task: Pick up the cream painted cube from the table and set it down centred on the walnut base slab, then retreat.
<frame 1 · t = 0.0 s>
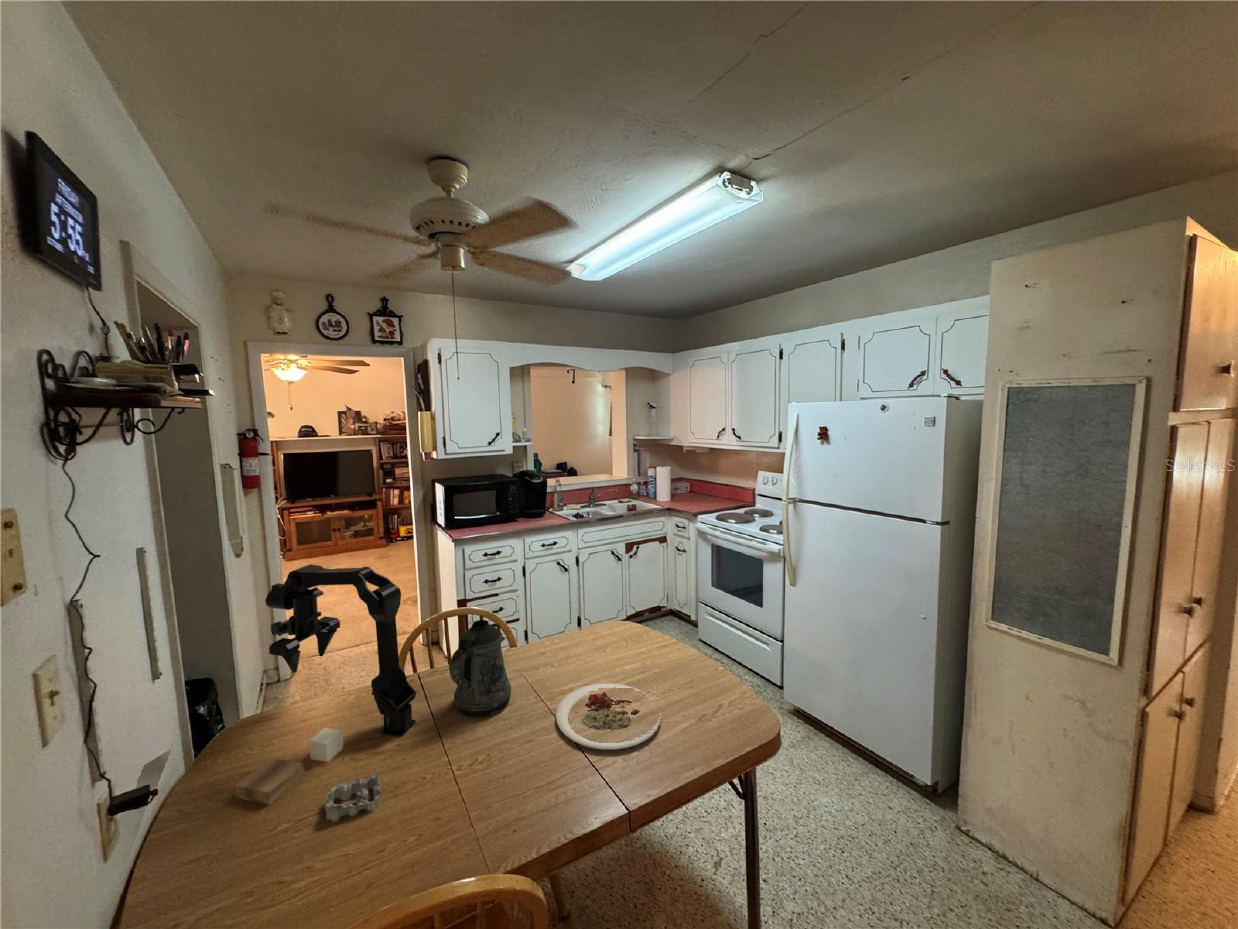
hand: (308, 664, 138), 15 cm above the table, fingers open, 9 cm apart
beer stein: (481, 705, 145), on the table
cream block: (326, 754, 123), on the table
plated food: (608, 719, 140), on the table
walnut base: (271, 786, 112), on the table
egg carton: (354, 805, 108), on the table
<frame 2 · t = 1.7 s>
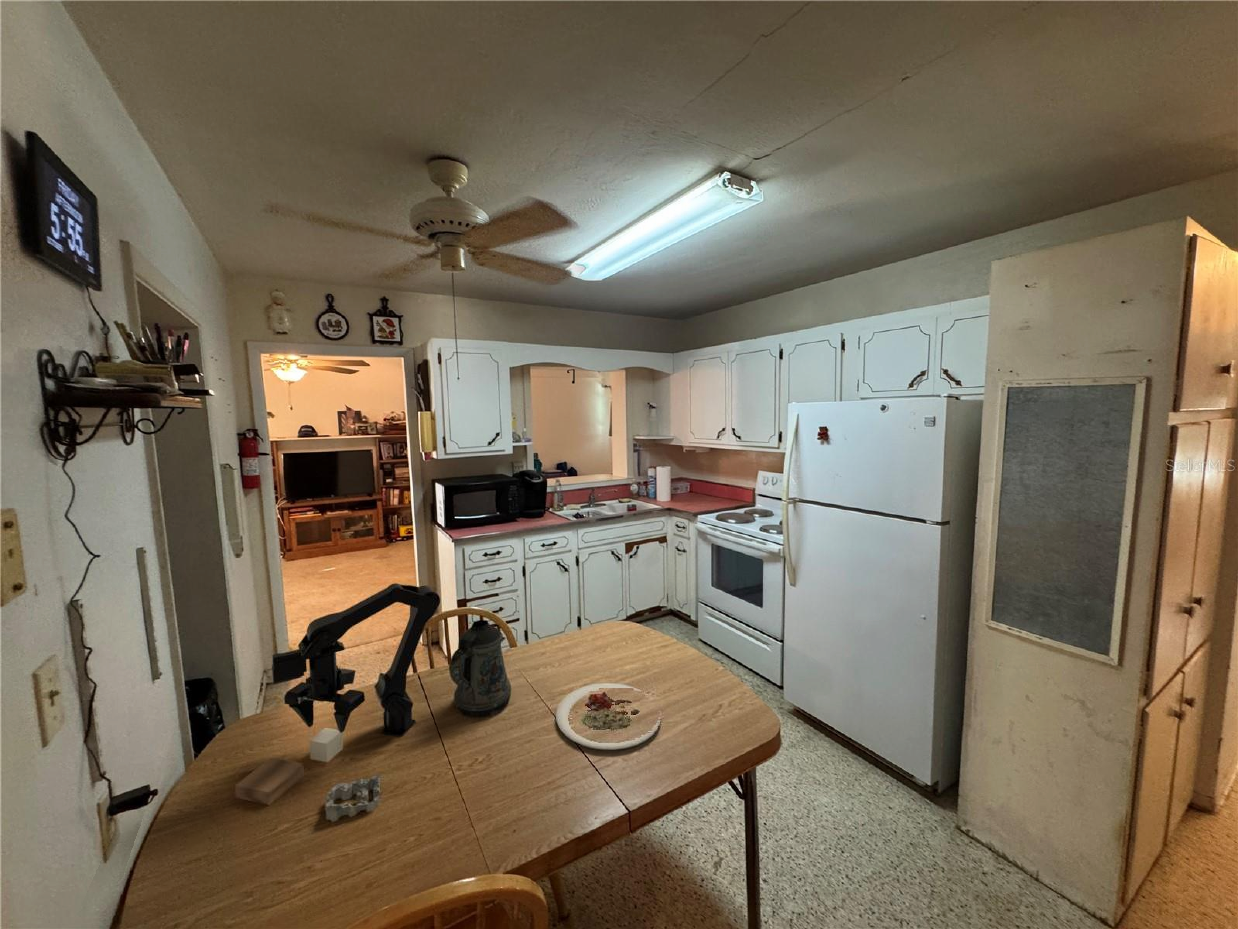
hand: (326, 729, 122), 7 cm above the table, fingers open, 9 cm apart
nothing on the table moved.
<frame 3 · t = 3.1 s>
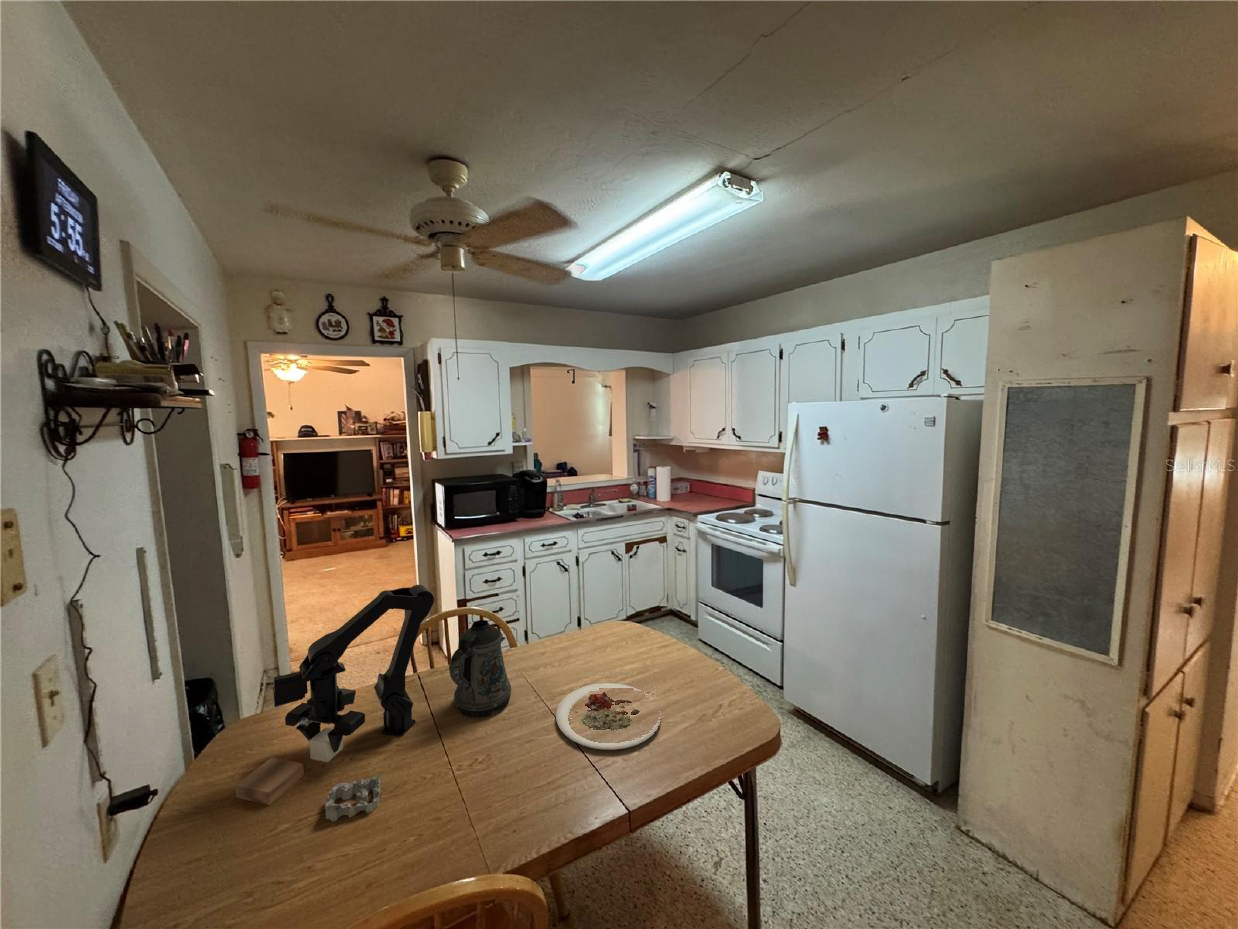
hand: (326, 749, 123), 1 cm above the table, fingers closed on cream block, 5 cm apart
cream block: (326, 753, 123), on the table, touching gripper
everything else where it was.
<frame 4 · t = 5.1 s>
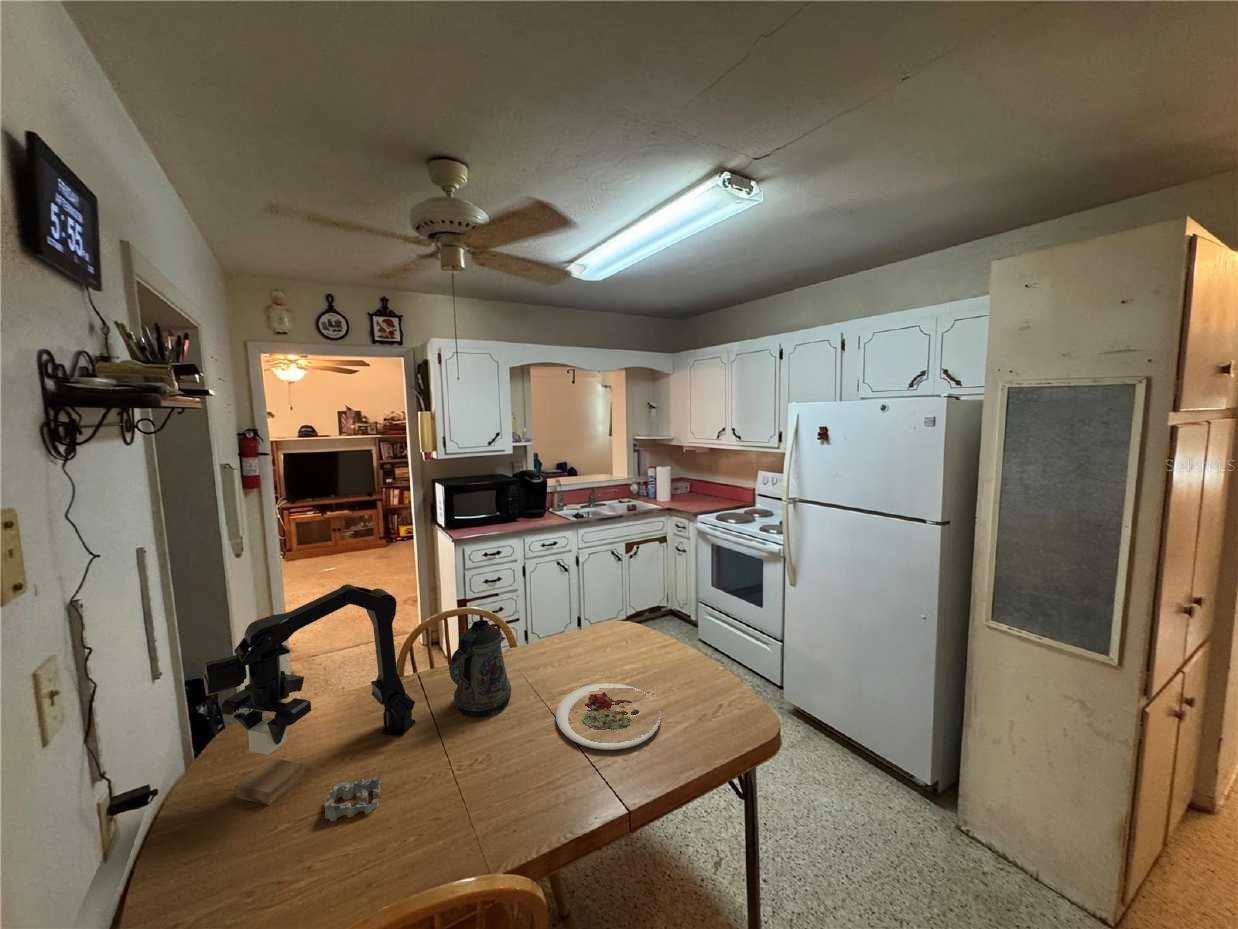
hand: (268, 741, 111), 11 cm above the table, fingers closed on cream block, 5 cm apart
cream block: (268, 745, 111), point 10 cm above the table, touching gripper
everything else where it was.
when the fingers open (4 cm above the table, at t = 7.0 s): cream block stays where it is, resting on walnut base.
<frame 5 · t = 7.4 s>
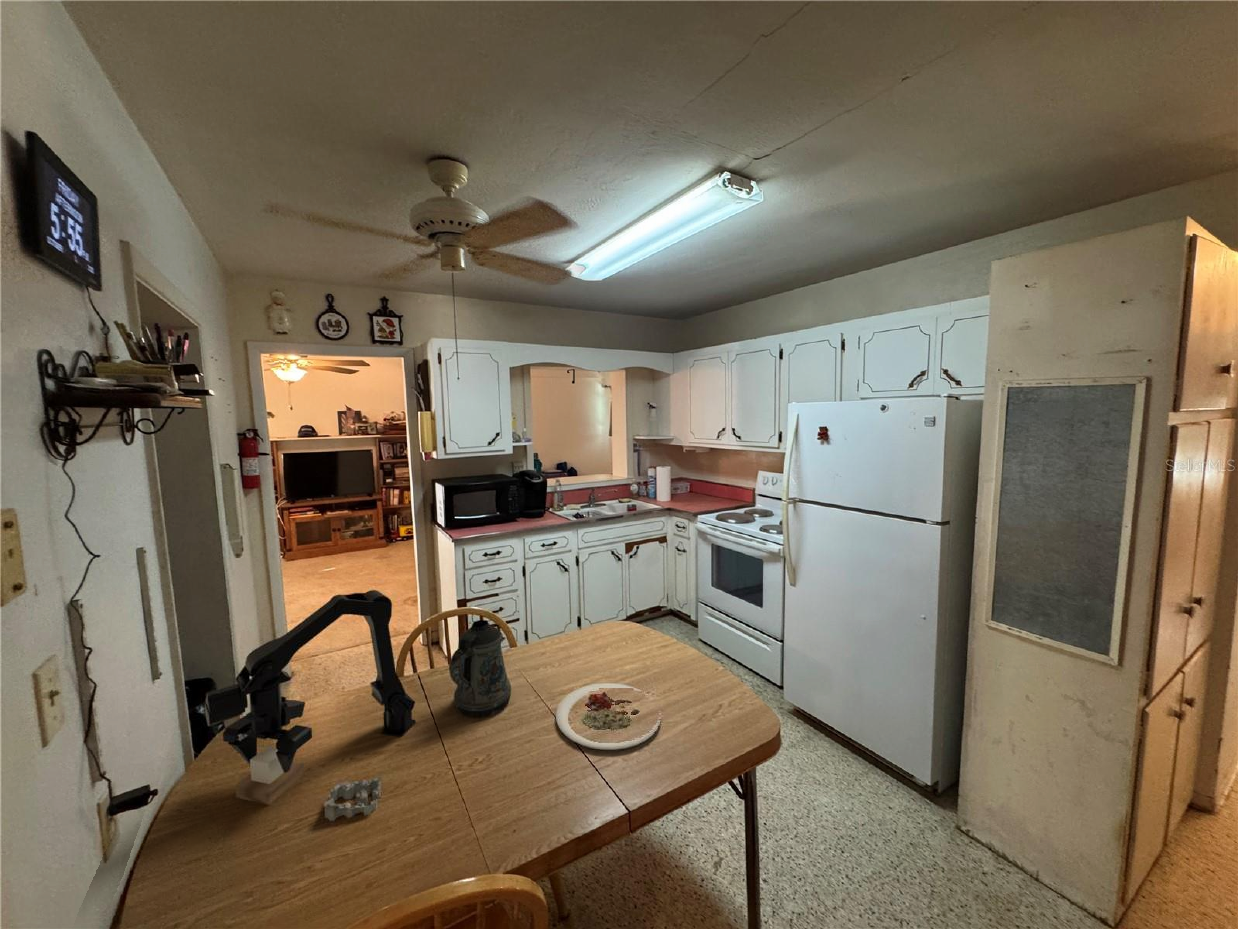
hand: (270, 768, 112), 4 cm above the table, fingers open, 9 cm apart
cream block: (270, 774, 112), point 3 cm above the table, touching walnut base
everything else where it was.
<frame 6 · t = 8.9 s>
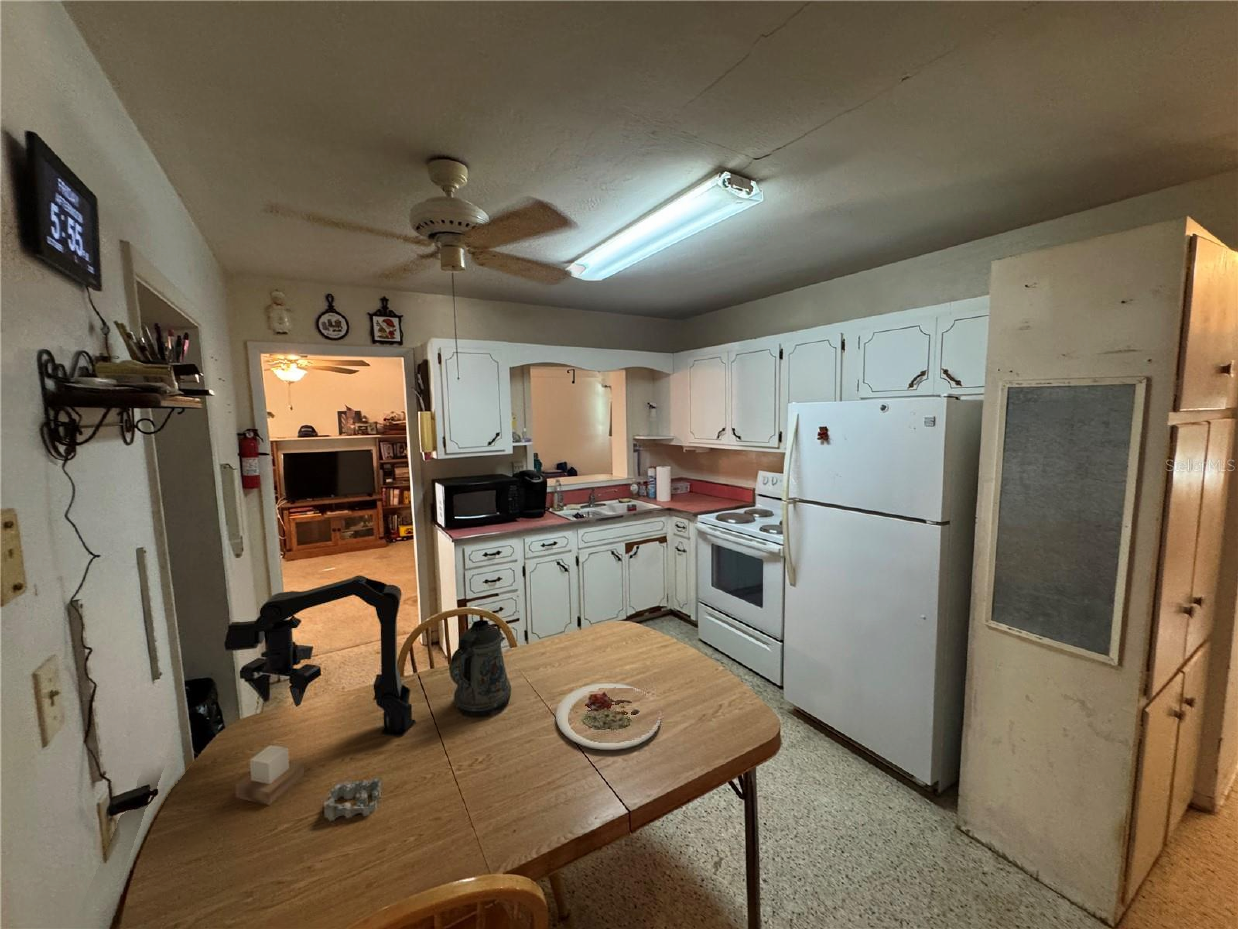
hand: (282, 703, 124), 12 cm above the table, fingers open, 9 cm apart
nothing on the table moved.
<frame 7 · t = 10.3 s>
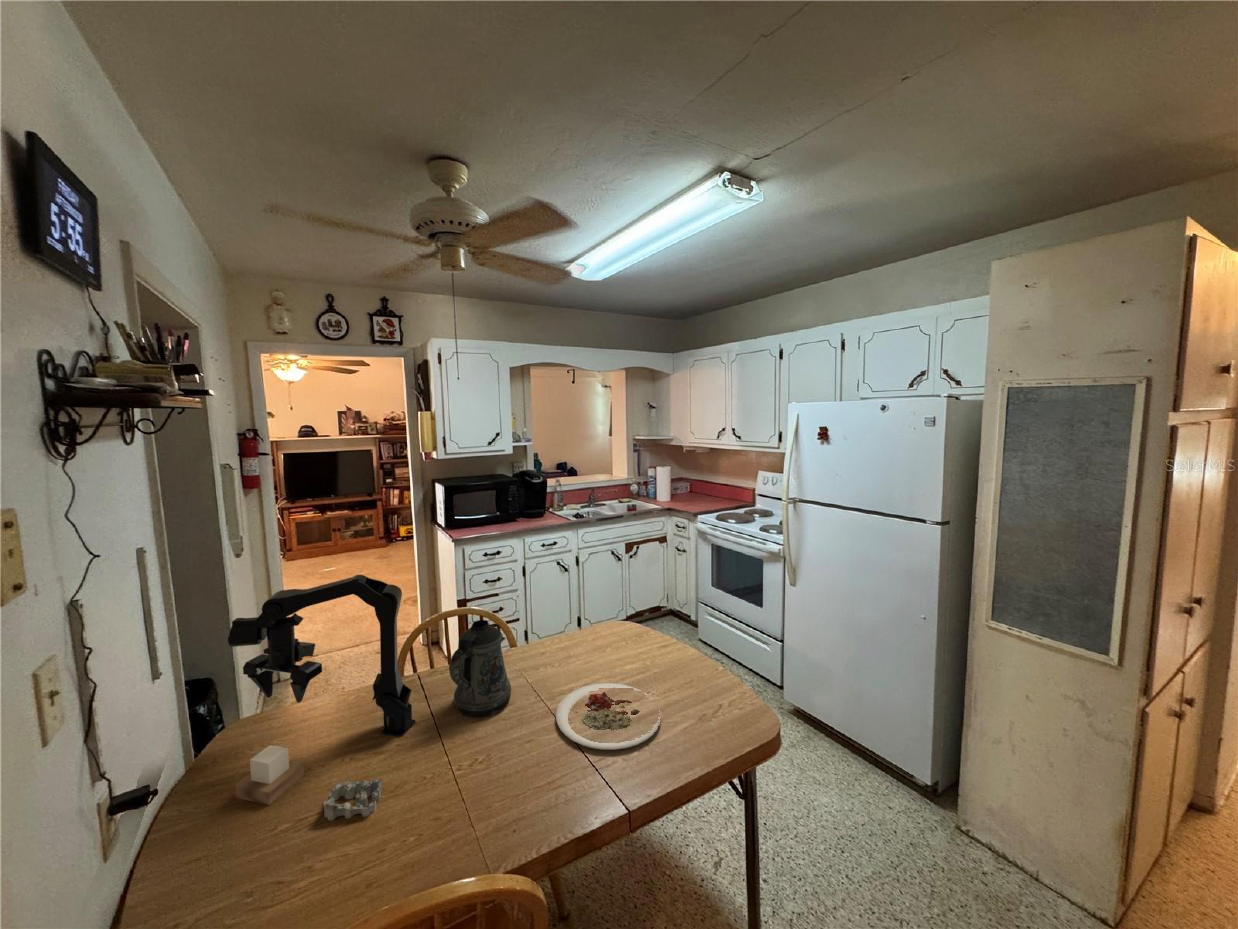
hand: (284, 699, 125), 12 cm above the table, fingers open, 9 cm apart
at the end: cream block 0.0 cm off-centre on the walnut base, point 3.0 cm above the walnut base's base; cream block tilted 0°; the gripper is holding nothing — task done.
